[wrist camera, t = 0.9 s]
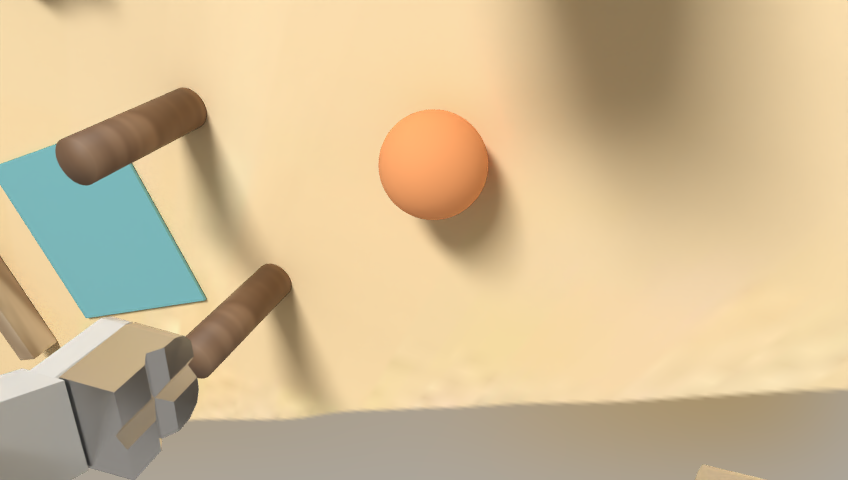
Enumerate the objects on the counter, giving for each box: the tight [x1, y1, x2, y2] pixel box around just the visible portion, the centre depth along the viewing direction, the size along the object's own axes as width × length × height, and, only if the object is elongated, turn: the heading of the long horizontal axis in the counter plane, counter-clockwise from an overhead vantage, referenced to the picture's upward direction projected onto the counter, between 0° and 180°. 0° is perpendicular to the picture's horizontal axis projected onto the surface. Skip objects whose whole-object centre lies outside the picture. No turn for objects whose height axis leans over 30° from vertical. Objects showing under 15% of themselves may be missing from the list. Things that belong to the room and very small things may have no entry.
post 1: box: [55, 88, 206, 186], centre depth 37 cm, size 3×3×9 cm
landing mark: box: [0, 144, 206, 318], centre depth 49 cm, size 14×14×1 cm
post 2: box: [186, 264, 291, 378], centre depth 41 cm, size 3×3×9 cm
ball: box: [379, 110, 488, 220], centre depth 33 cm, size 6×6×6 cm
